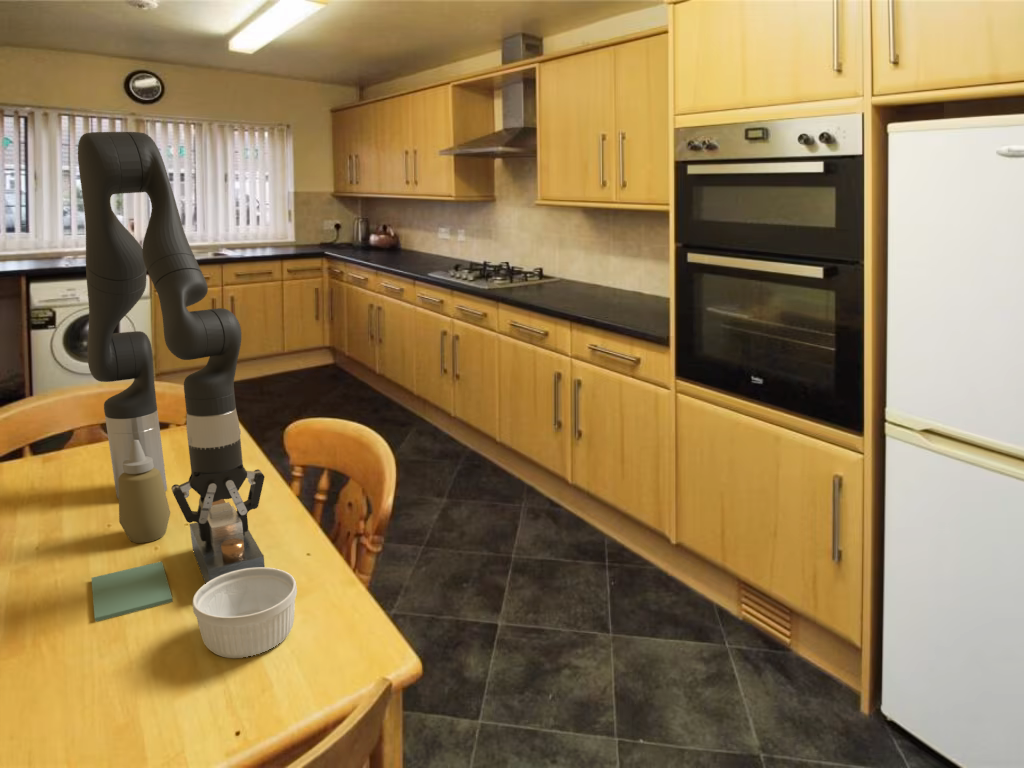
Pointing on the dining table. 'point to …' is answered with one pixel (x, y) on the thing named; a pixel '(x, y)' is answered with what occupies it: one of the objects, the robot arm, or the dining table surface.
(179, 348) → the robot arm
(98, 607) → the mat
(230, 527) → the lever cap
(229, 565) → the plane body
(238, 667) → the dining table surface
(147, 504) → the squeeze bottle
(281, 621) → the ramekin
